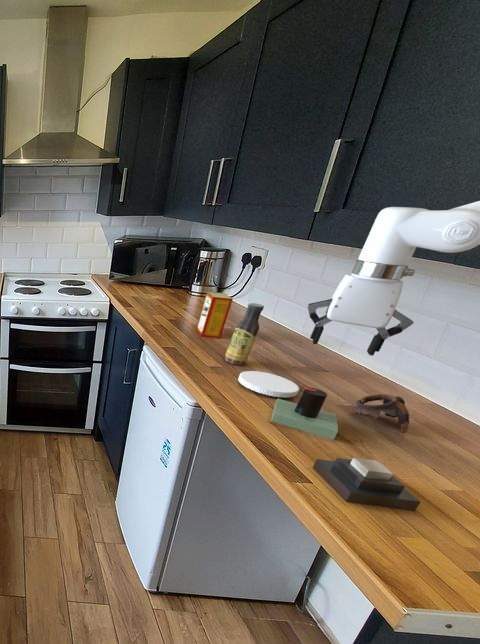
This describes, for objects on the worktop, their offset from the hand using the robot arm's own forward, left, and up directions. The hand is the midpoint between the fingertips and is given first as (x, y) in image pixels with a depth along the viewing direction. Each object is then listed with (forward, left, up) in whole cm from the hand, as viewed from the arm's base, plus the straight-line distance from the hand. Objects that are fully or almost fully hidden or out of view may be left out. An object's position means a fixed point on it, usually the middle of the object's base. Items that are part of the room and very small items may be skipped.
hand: (341, 347), depth 90 cm
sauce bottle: (+16, -35, -20) cm, 43 cm away
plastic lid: (+8, -17, -20) cm, 27 cm away
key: (-6, +24, -16) cm, 30 cm away
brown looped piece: (-16, -13, -20) cm, 29 cm away
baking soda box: (+26, -64, -20) cm, 72 cm away
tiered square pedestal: (-6, +24, -20) cm, 32 cm away
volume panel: (+1, 0, -20) cm, 20 cm away
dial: (+1, 0, -17) cm, 17 cm away
